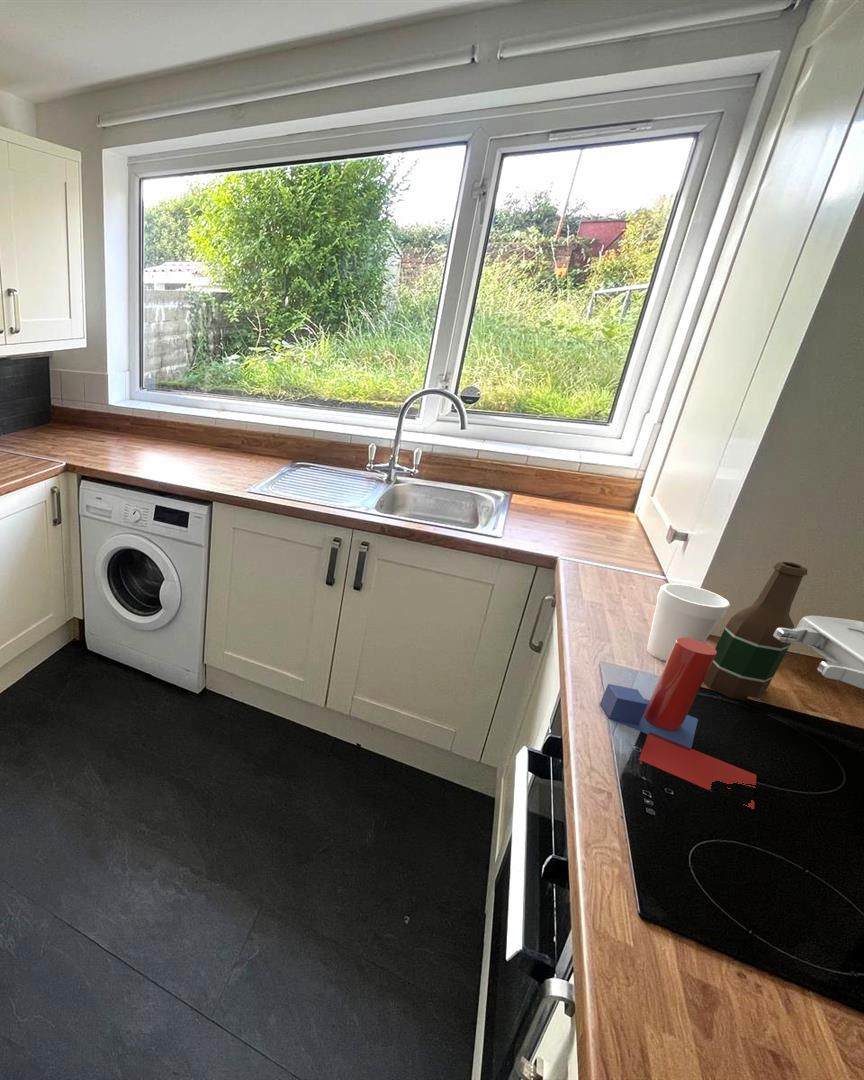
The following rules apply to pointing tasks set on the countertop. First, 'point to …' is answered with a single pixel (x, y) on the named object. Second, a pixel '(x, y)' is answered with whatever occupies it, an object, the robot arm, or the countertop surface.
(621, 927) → the countertop surface
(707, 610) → the foam cup
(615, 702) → the blue block
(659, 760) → the red mat
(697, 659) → the red canister
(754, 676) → the beer bottle
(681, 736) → the blue mat
